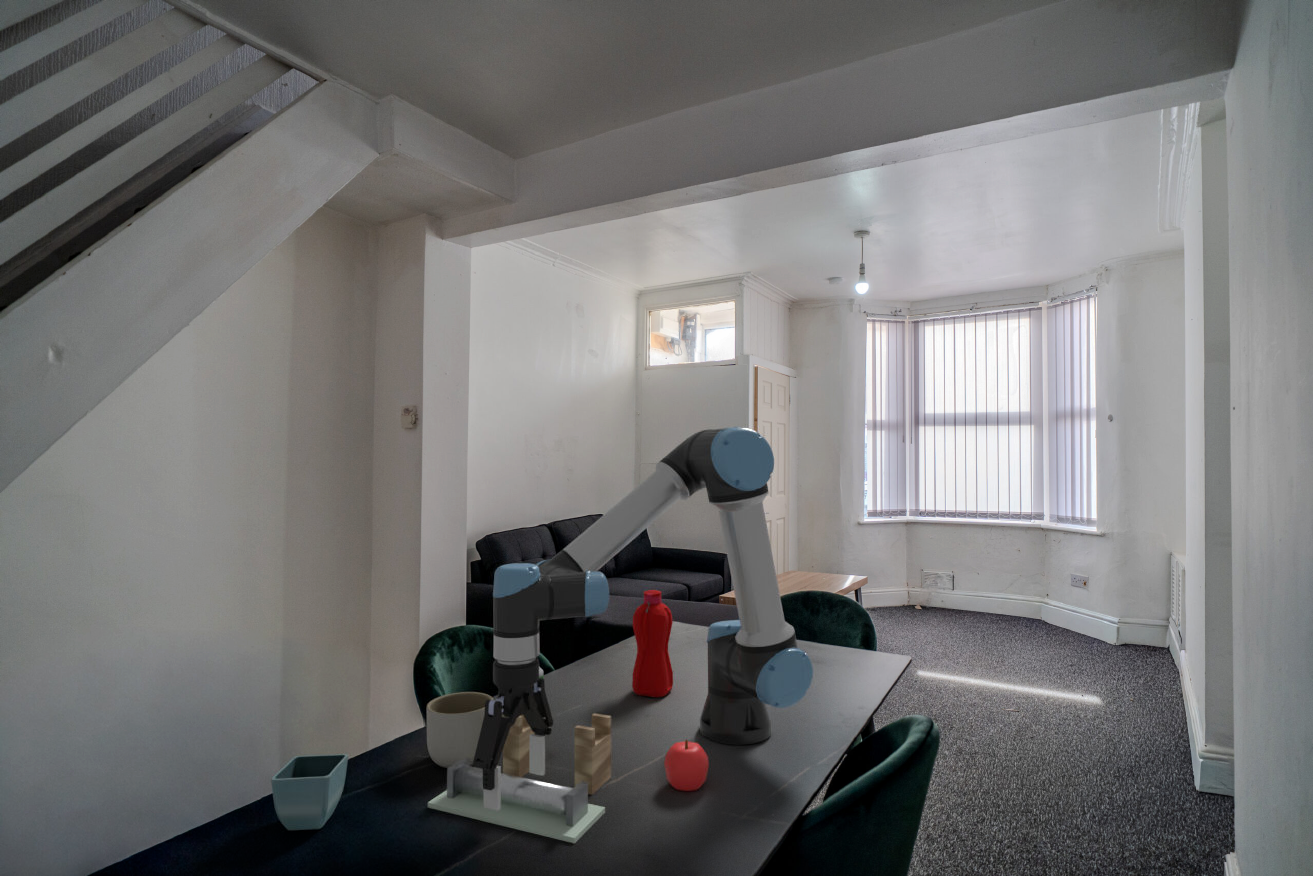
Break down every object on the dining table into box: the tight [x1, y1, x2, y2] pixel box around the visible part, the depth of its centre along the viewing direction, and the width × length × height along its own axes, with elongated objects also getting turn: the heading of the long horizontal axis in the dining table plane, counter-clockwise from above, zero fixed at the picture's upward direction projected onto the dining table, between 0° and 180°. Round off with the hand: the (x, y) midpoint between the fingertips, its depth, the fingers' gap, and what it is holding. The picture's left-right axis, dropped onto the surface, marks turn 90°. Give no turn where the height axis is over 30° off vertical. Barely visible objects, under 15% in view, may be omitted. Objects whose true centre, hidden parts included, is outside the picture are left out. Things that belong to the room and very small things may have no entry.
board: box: [427, 789, 606, 844], centre depth 115 cm, size 28×10×1 cm, turn 67°
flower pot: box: [270, 753, 349, 831], centre depth 111 cm, size 9×9×9 cm
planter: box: [426, 691, 494, 769], centre depth 134 cm, size 12×12×11 cm
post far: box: [502, 714, 535, 778], centre depth 130 cm, size 4×7×11 cm, turn 157°
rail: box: [446, 757, 589, 827], centre depth 115 cm, size 24×5×5 cm, turn 67°
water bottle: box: [631, 589, 674, 698], centre depth 172 cm, size 9×11×25 cm
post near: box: [574, 713, 612, 796], centre depth 124 cm, size 4×7×11 cm, turn 157°
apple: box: [663, 739, 710, 792], centre depth 123 cm, size 8×8×8 cm
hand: (515, 790), depth 115 cm, fingers open, 12 cm apart
